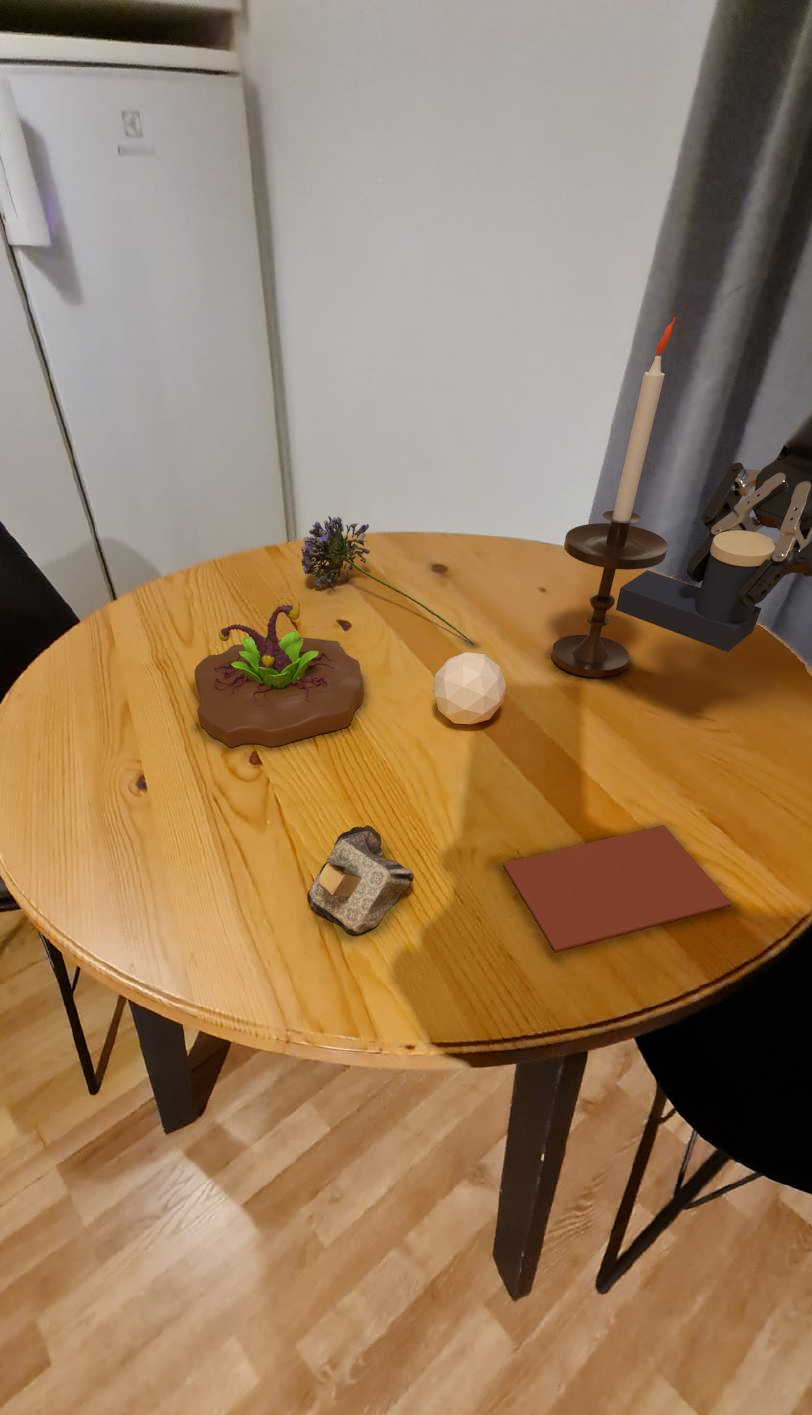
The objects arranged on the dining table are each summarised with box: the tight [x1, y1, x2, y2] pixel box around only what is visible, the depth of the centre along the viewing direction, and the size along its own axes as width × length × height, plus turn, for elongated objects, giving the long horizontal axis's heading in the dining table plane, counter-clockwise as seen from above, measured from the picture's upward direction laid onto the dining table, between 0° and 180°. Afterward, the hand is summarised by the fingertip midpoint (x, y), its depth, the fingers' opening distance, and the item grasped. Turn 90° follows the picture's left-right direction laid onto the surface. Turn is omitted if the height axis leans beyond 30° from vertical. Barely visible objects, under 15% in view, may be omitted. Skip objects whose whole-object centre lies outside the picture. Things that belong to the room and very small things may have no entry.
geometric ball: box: [432, 651, 507, 725], centre depth 81 cm, size 8×8×8 cm
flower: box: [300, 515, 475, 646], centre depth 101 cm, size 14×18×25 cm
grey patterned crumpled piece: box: [306, 824, 415, 935], centre depth 64 cm, size 8×7×12 cm
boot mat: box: [502, 824, 733, 953], centre depth 64 cm, size 16×10×1 cm, turn 106°
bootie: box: [615, 530, 777, 653], centre depth 71 cm, size 12×5×9 cm, turn 43°
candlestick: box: [551, 316, 677, 678], centre depth 80 cm, size 11×11×35 cm
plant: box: [194, 604, 364, 748], centre depth 85 cm, size 20×20×11 cm
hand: (717, 588), depth 68 cm, fingers closed on bootie, 5 cm apart
